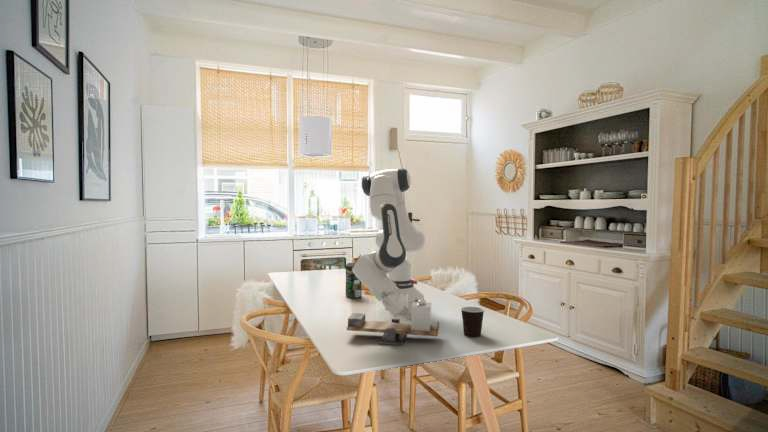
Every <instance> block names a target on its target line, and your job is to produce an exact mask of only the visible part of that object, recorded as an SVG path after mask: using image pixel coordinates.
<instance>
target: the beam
mask: <svg viewBox="0 0 768 432" xmlns="http://www.w3.org/2000/svg"><path fill="white" fill-rule="evenodd" d="M387 328H395V334H405V335H412V336H413V335H414V336H427V337H439V331H440V321H439V320H436V324H431V328H430V331H415V330H411V322H410V323H409V322H400V323H396V322H392V321H377V320H366V313H360V312H359V313H358V312H357V313H356V312H352V313H351V314H350V315H349V317H348V318H347V326H346V331H351V332H352V331H354V332H366V333H381V334H384V333H387Z"/></svg>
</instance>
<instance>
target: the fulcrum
mask: <svg viewBox="0 0 768 432" xmlns="http://www.w3.org/2000/svg"><path fill="white" fill-rule="evenodd" d="M391 322H396V323H401V322H400V318H391ZM405 336H406V334H395V328H387V333H382V336H381V338H380V340H379V345H382V346H384V345H385V346H399V347H401V346H402V345H403V343H404V339H405Z"/></svg>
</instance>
